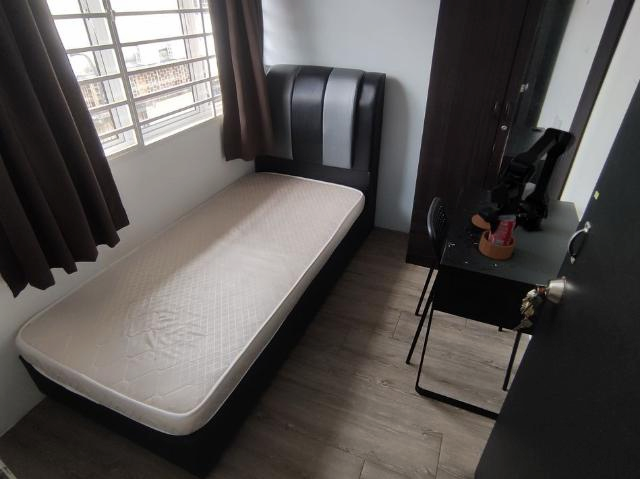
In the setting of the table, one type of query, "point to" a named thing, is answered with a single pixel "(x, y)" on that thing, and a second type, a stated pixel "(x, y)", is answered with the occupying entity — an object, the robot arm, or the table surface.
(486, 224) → the pot lid
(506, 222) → the soda can
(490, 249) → the pot
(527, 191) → the toilet tissue
